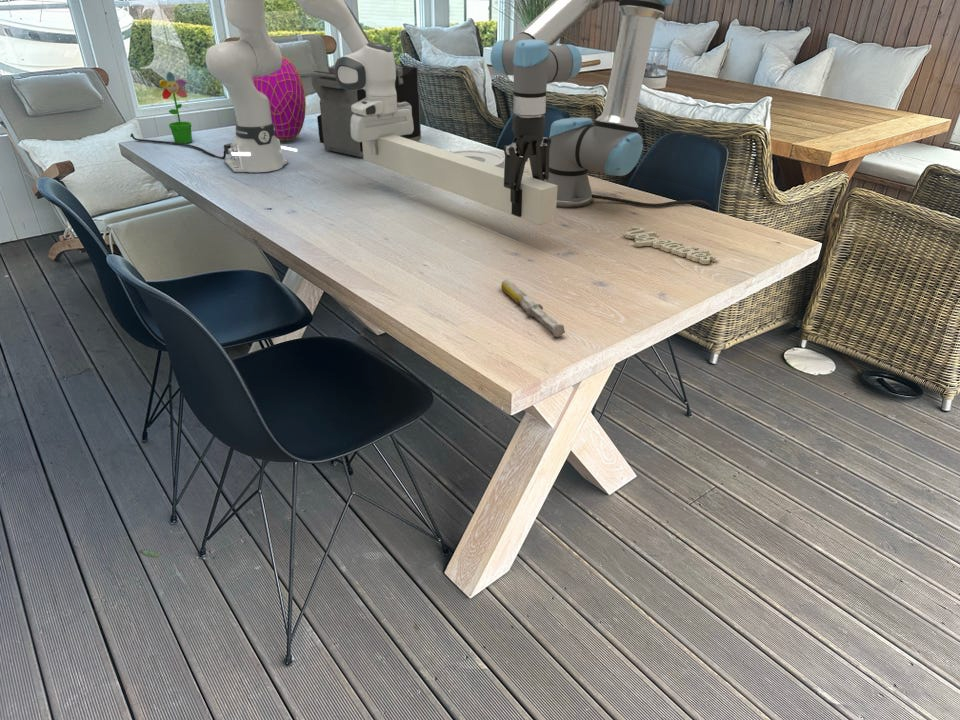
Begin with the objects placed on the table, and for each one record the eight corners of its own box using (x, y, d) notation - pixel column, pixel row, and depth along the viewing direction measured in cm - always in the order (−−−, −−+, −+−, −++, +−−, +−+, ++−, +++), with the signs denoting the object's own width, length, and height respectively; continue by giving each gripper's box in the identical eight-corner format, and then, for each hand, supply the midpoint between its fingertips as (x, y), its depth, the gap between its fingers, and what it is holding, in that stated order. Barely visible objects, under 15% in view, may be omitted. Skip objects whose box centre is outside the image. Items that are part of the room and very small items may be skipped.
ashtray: (437, 161, 240) (437, 149, 238) (504, 162, 239) (504, 150, 237) (431, 179, 220) (431, 167, 218) (504, 181, 219) (504, 168, 217)
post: (555, 220, 166) (557, 185, 162) (539, 225, 163) (541, 189, 158) (378, 156, 215) (376, 128, 210) (363, 160, 212) (361, 131, 207)
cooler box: (383, 133, 276) (378, 52, 261) (425, 141, 265) (422, 56, 250) (314, 150, 251) (304, 61, 235) (358, 160, 240) (350, 67, 224)
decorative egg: (293, 132, 276) (283, 50, 261) (319, 140, 264) (310, 56, 249) (249, 139, 265) (236, 54, 250) (273, 148, 253) (261, 60, 238)
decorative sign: (611, 234, 176) (635, 225, 181) (610, 237, 176) (634, 229, 182) (700, 264, 159) (723, 254, 164) (699, 268, 159) (723, 257, 165)
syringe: (497, 287, 149) (497, 275, 147) (512, 284, 150) (513, 273, 149) (547, 340, 129) (548, 327, 128) (565, 336, 130) (566, 324, 129)
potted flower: (172, 145, 255) (157, 73, 243) (170, 140, 261) (154, 70, 249) (199, 142, 259) (185, 71, 247) (196, 138, 265) (182, 68, 253)
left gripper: (405, 99, 207) (406, 145, 214) (346, 106, 196) (349, 155, 203) (417, 102, 203) (418, 149, 210) (357, 110, 192) (361, 160, 199)
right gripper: (545, 106, 165) (541, 200, 177) (487, 117, 154) (487, 216, 166) (568, 111, 160) (562, 208, 172) (510, 123, 149) (508, 225, 162)
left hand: (384, 152), depth 206 cm, fingers closed on post, 5 cm apart
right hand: (525, 212), depth 169 cm, fingers closed on post, 5 cm apart
